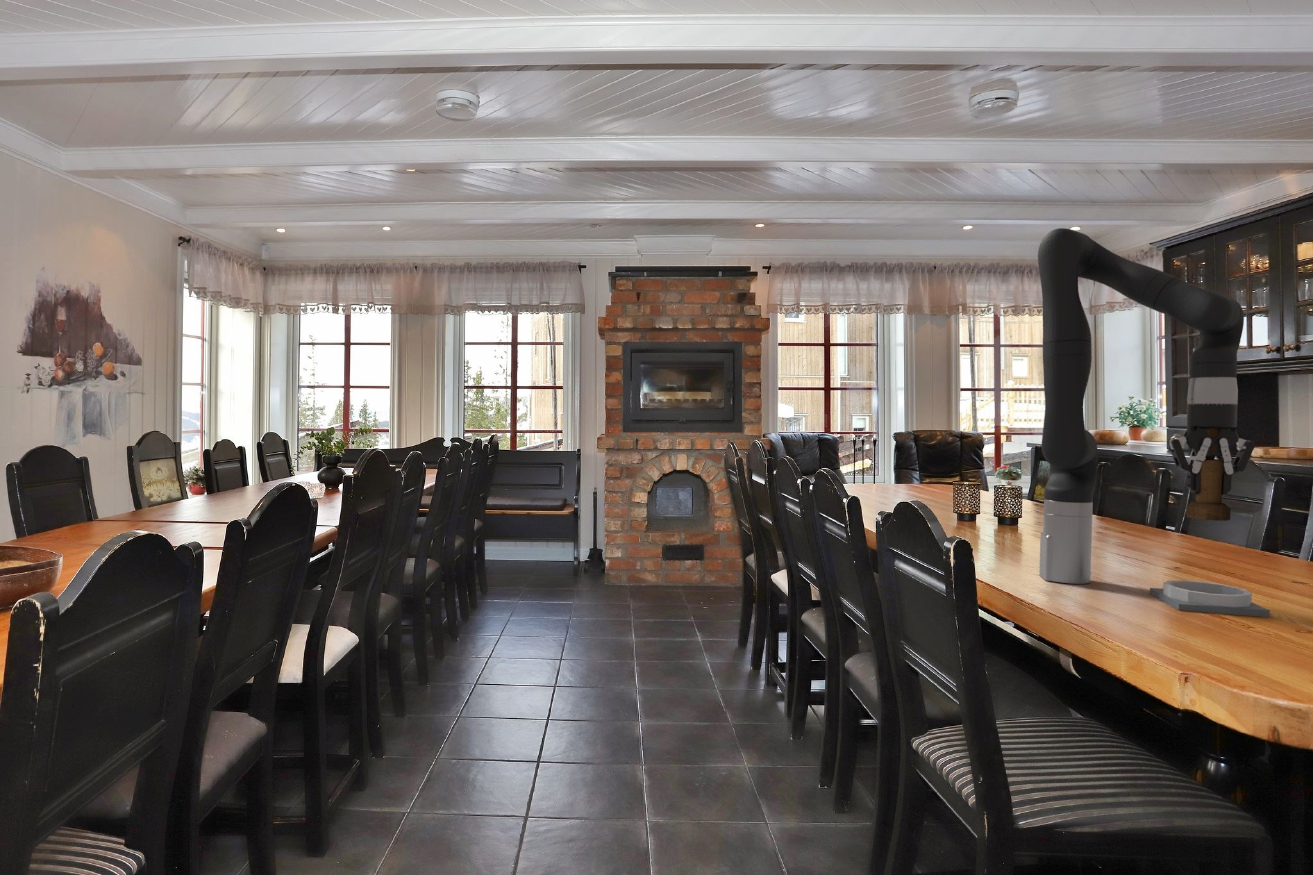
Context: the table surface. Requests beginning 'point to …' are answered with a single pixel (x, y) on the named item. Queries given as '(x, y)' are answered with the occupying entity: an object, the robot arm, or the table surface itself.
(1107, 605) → the table surface
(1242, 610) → the ring board
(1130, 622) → the table surface
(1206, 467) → the brown tall stepped piece
